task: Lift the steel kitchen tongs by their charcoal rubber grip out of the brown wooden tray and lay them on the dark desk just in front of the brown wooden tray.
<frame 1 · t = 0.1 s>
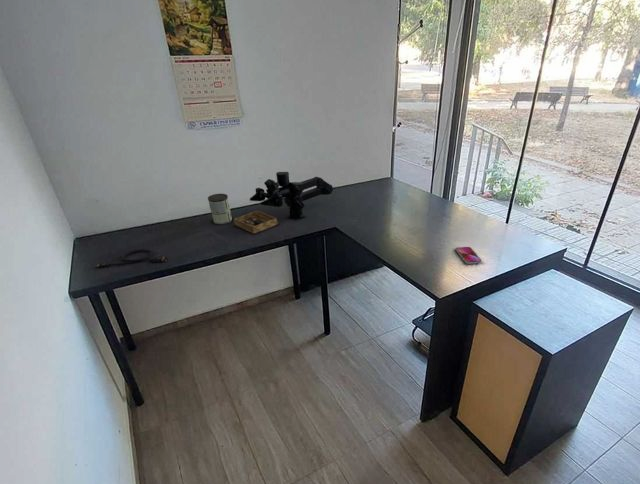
hand: (255, 201, 193), 17 cm above the table, tool horizontal, fingers open, 9 cm apart
cable: (135, 258, 179), on the table
coffee can: (222, 221, 215), on the table
tongs: (255, 224, 209), resting on brown wooden tray
brown wooden tray: (256, 225, 209), on the table
smartphone: (467, 256, 177), on the table
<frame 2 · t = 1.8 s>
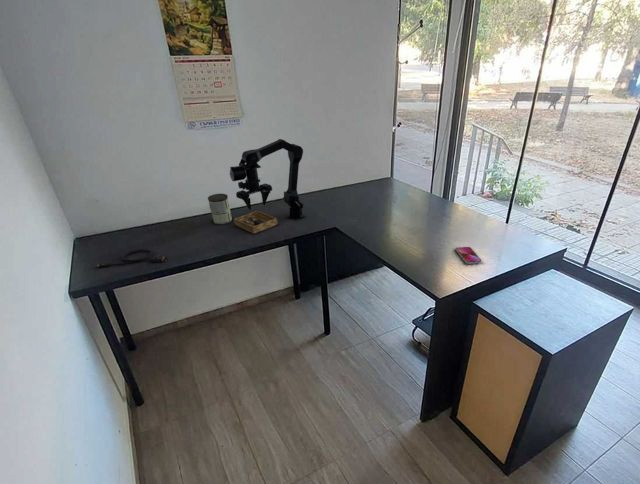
hand: (257, 207, 201), 11 cm above the table, tool pointing down, fingers open, 9 cm apart
nothing on the table moved.
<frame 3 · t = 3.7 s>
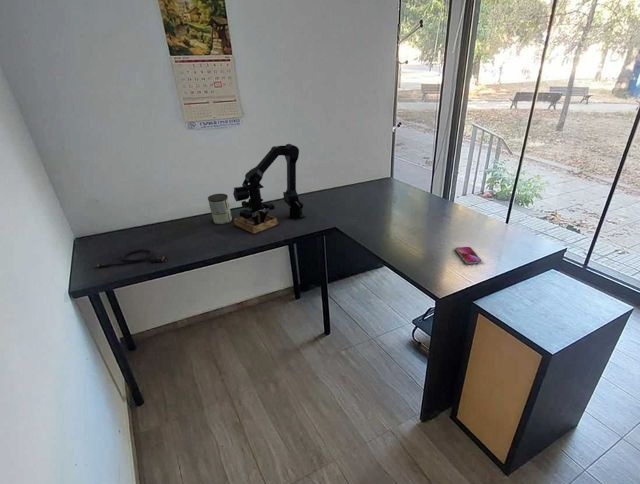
hand: (259, 225, 207), 1 cm above the table, tool pointing down, fingers closed on tongs, 3 cm apart
tongs: (255, 224, 209), resting on brown wooden tray, touching gripper
everything else where it was.
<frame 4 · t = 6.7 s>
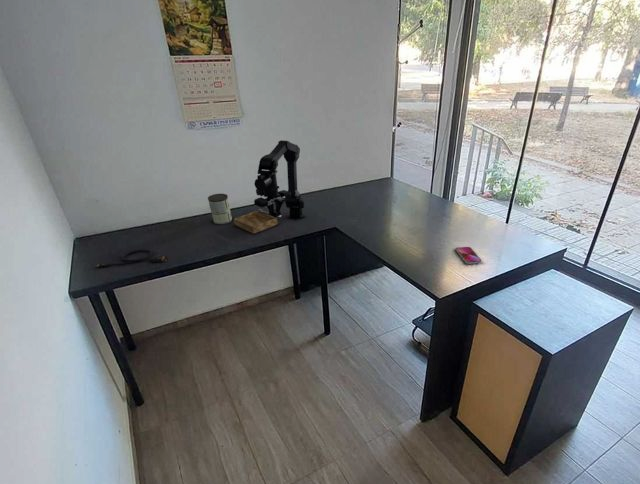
hand: (275, 214, 193), 11 cm above the table, tool pointing down, fingers closed on tongs, 3 cm apart
tongs: (270, 214, 195), point 10 cm above the table, touching gripper
everything else where it was.
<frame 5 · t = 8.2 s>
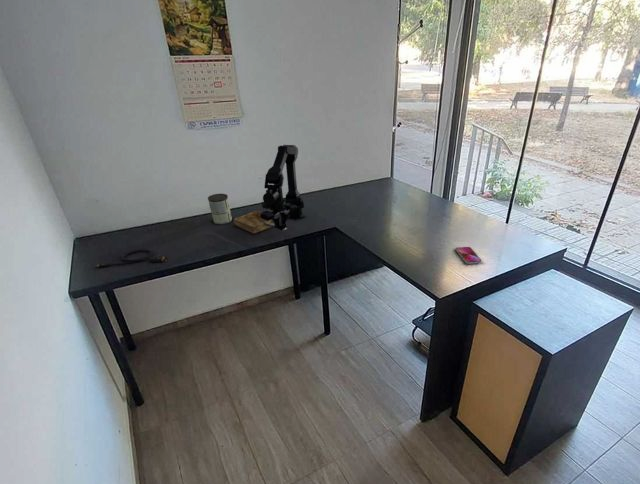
hand: (280, 227, 194), 5 cm above the table, tool pointing down, fingers closed on tongs, 3 cm apart
tongs: (276, 226, 197), point 4 cm above the table, touching gripper
everything else where it was.
when the fingers open (0 cm above the table, at t = 9.5 s): tongs stays where it is, on the table.
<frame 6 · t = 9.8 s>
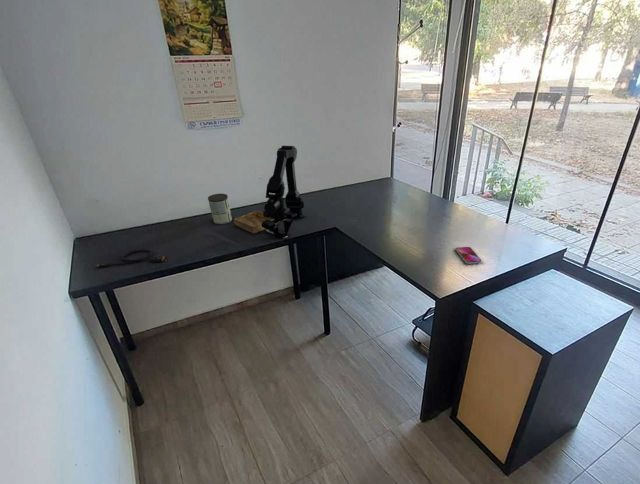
hand: (281, 235, 197), 0 cm above the table, tool pointing down, fingers open, 6 cm apart
tongs: (277, 234, 199), on the table
everything else where it was.
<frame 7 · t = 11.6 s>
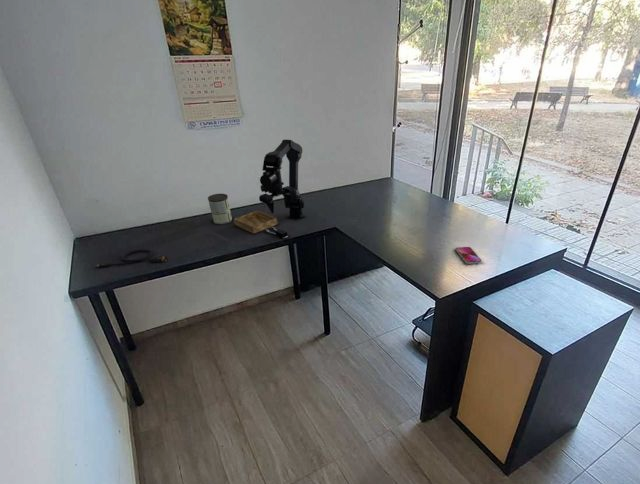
hand: (279, 210, 195), 12 cm above the table, tool pointing down, fingers open, 9 cm apart
nothing on the table moved.
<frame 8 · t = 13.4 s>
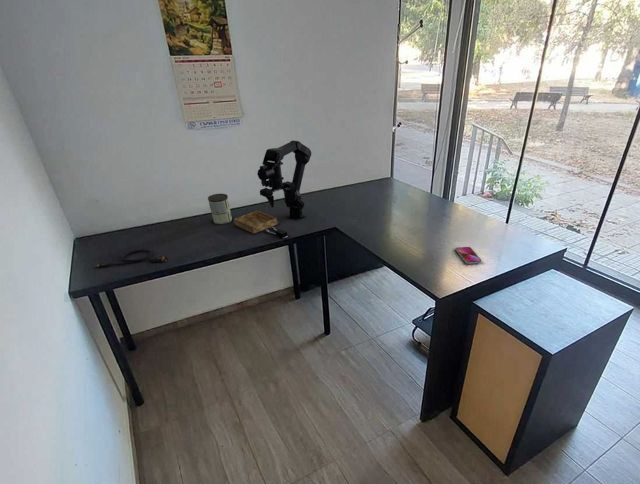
hand: (279, 204, 201), 12 cm above the table, tool pointing down, fingers open, 9 cm apart
nothing on the table moved.
at the end: tongs inside the target area (0.0 cm from its centre), on the table; tongs touching table; the gripper is holding nothing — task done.
